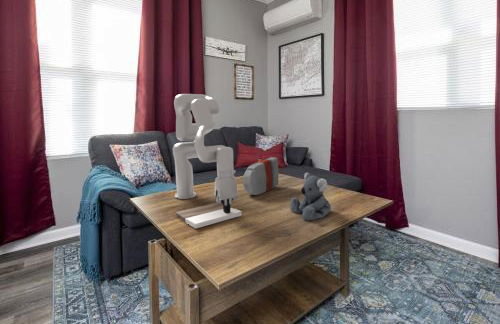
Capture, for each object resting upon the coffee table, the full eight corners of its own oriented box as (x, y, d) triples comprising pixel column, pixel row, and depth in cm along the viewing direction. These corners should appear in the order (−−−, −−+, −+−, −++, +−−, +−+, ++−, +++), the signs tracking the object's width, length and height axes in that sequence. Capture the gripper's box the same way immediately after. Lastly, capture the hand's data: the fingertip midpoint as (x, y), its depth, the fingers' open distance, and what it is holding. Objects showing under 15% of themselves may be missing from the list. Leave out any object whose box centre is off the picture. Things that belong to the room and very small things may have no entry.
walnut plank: (175, 216, 138) (175, 212, 137) (218, 205, 152) (218, 202, 152) (184, 222, 130) (184, 218, 129) (229, 210, 144) (229, 206, 144)
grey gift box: (270, 156, 186) (240, 167, 163) (279, 156, 182) (249, 168, 159) (272, 184, 190) (242, 199, 168) (280, 186, 186) (251, 201, 164)
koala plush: (287, 210, 144) (288, 172, 141) (318, 205, 150) (319, 169, 147) (306, 222, 128) (307, 179, 125) (339, 216, 134) (341, 176, 131)
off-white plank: (185, 222, 129) (185, 218, 129) (229, 210, 144) (229, 207, 144) (195, 228, 121) (195, 223, 121) (241, 215, 136) (241, 211, 136)
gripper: (234, 170, 139) (235, 207, 142) (207, 175, 130) (208, 214, 133) (243, 173, 133) (244, 211, 136) (215, 178, 124) (217, 218, 127)
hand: (227, 212), depth 135 cm, fingers closed
